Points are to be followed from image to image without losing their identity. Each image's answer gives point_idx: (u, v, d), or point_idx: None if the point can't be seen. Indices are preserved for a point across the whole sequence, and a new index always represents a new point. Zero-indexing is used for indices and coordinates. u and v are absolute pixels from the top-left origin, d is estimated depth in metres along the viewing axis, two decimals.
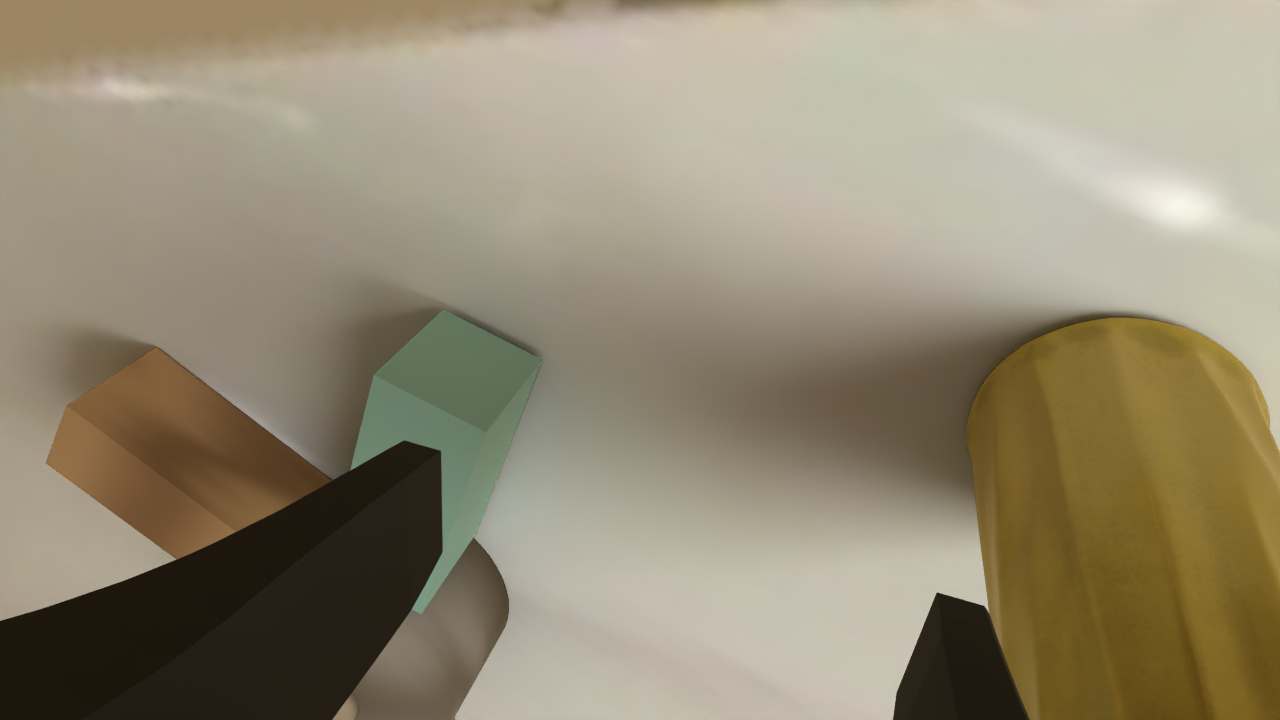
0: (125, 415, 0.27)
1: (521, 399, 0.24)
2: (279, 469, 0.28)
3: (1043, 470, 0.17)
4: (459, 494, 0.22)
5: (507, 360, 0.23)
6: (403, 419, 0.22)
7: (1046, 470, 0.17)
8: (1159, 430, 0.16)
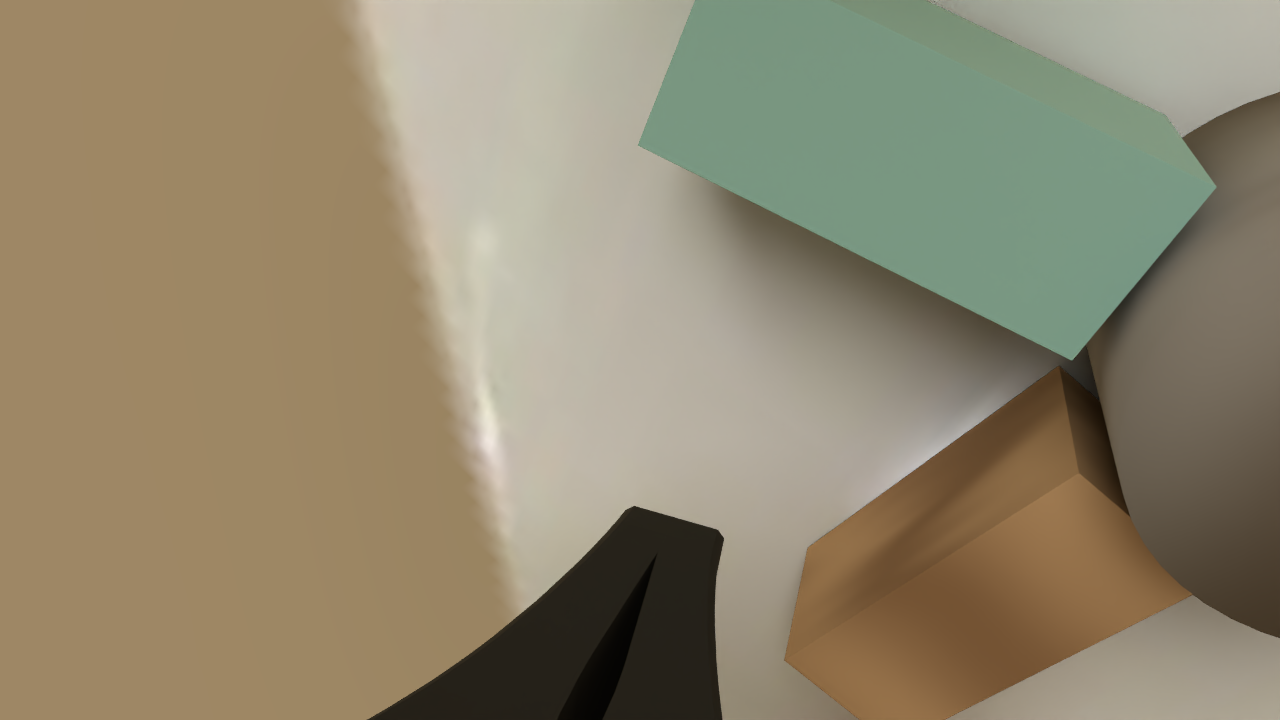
0: (829, 602, 0.19)
1: None
2: (989, 440, 0.18)
3: None
4: (865, 28, 0.12)
5: None
6: (713, 110, 0.13)
7: None
8: None
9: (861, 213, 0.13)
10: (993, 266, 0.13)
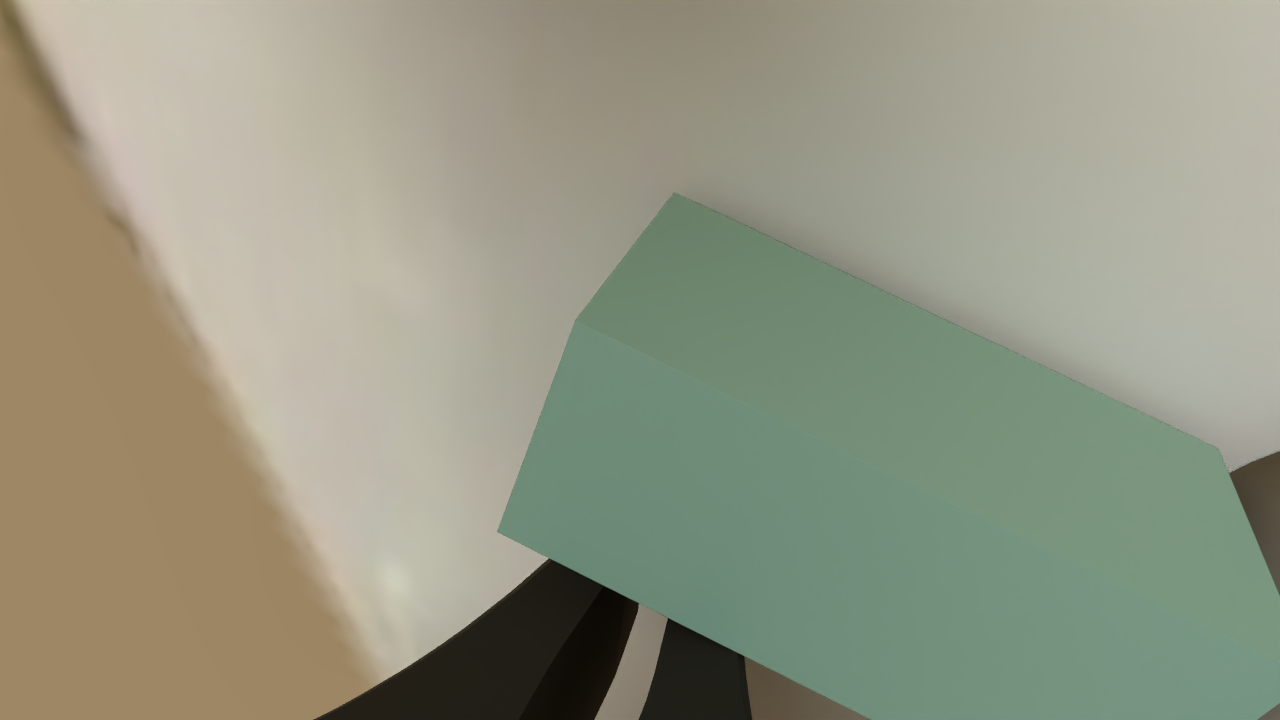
0: None
1: (725, 248, 0.10)
2: None
3: None
4: (792, 436, 0.08)
5: None
6: (591, 506, 0.09)
7: None
8: None
9: (801, 641, 0.09)
10: None
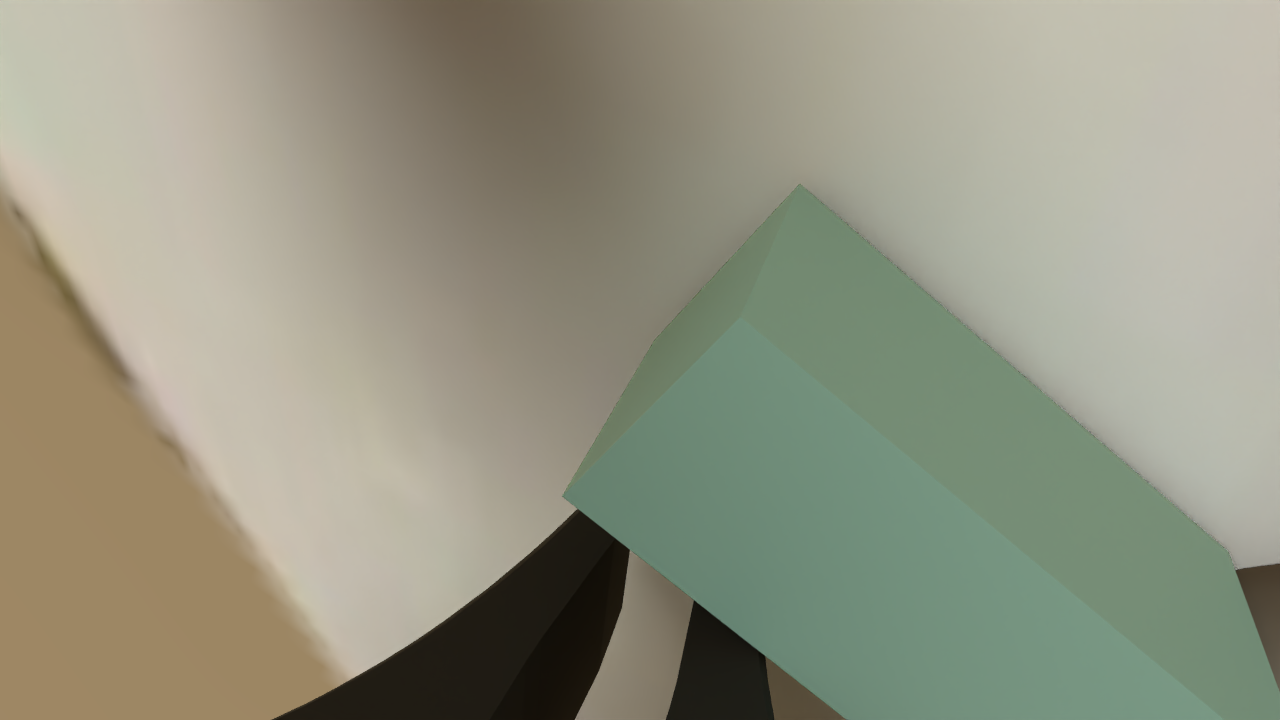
0: None
1: (849, 258, 0.10)
2: None
3: None
4: (923, 482, 0.08)
5: (749, 248, 0.11)
6: (677, 495, 0.09)
7: None
8: None
9: (844, 666, 0.10)
10: None
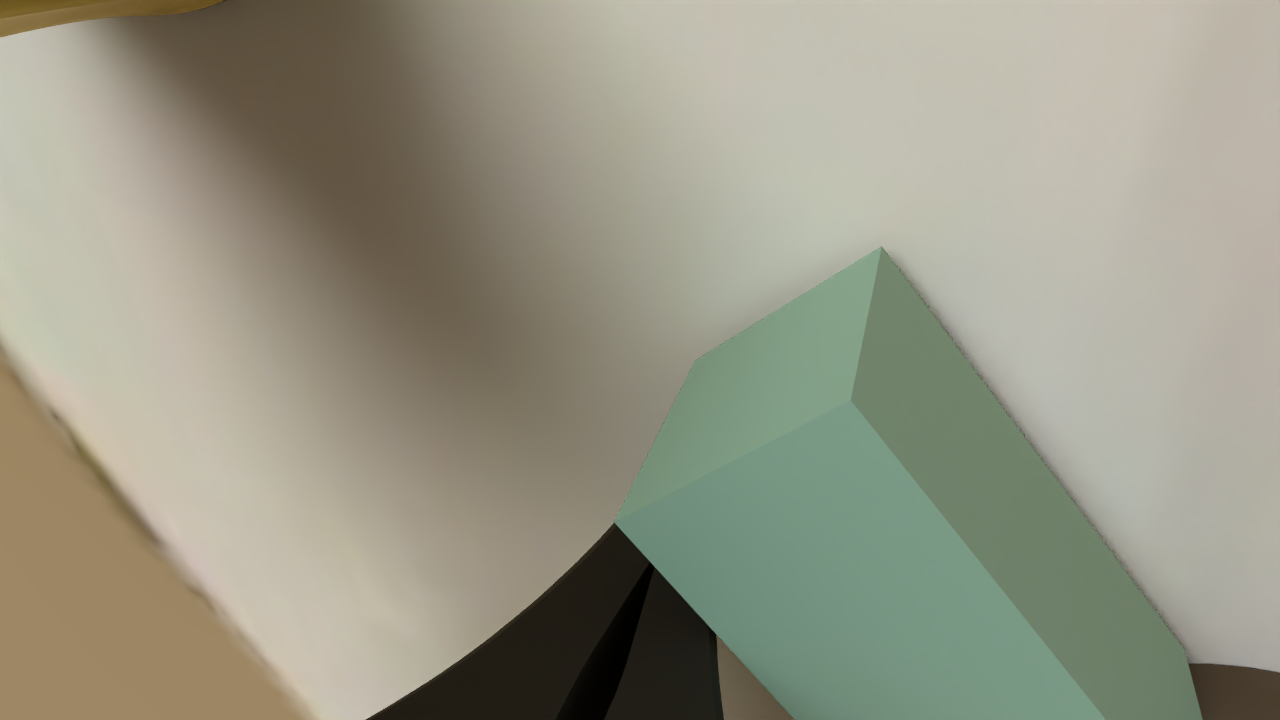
0: None
1: (920, 332, 0.10)
2: None
3: None
4: (979, 579, 0.09)
5: (824, 301, 0.11)
6: (733, 544, 0.09)
7: None
8: None
9: None
10: None
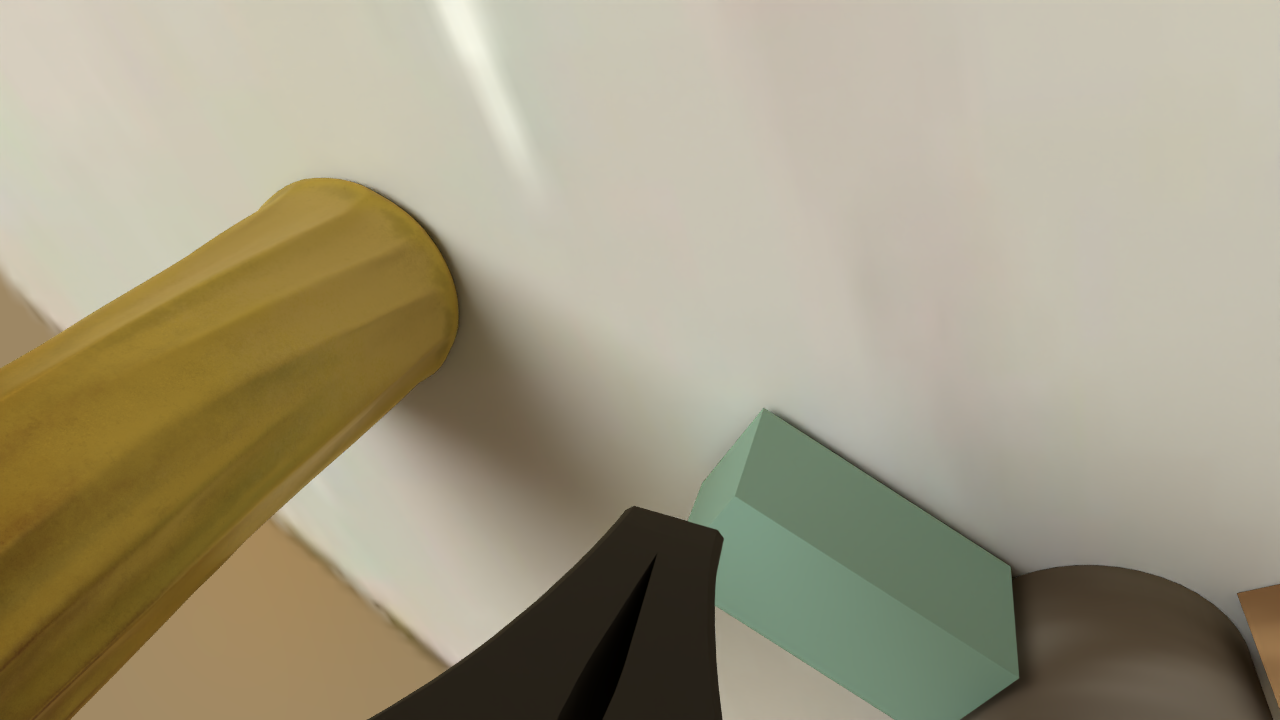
0: None
1: (789, 446, 0.21)
2: None
3: None
4: (821, 556, 0.19)
5: (742, 443, 0.22)
6: (719, 570, 0.20)
7: None
8: None
9: (806, 641, 0.20)
10: (885, 685, 0.20)
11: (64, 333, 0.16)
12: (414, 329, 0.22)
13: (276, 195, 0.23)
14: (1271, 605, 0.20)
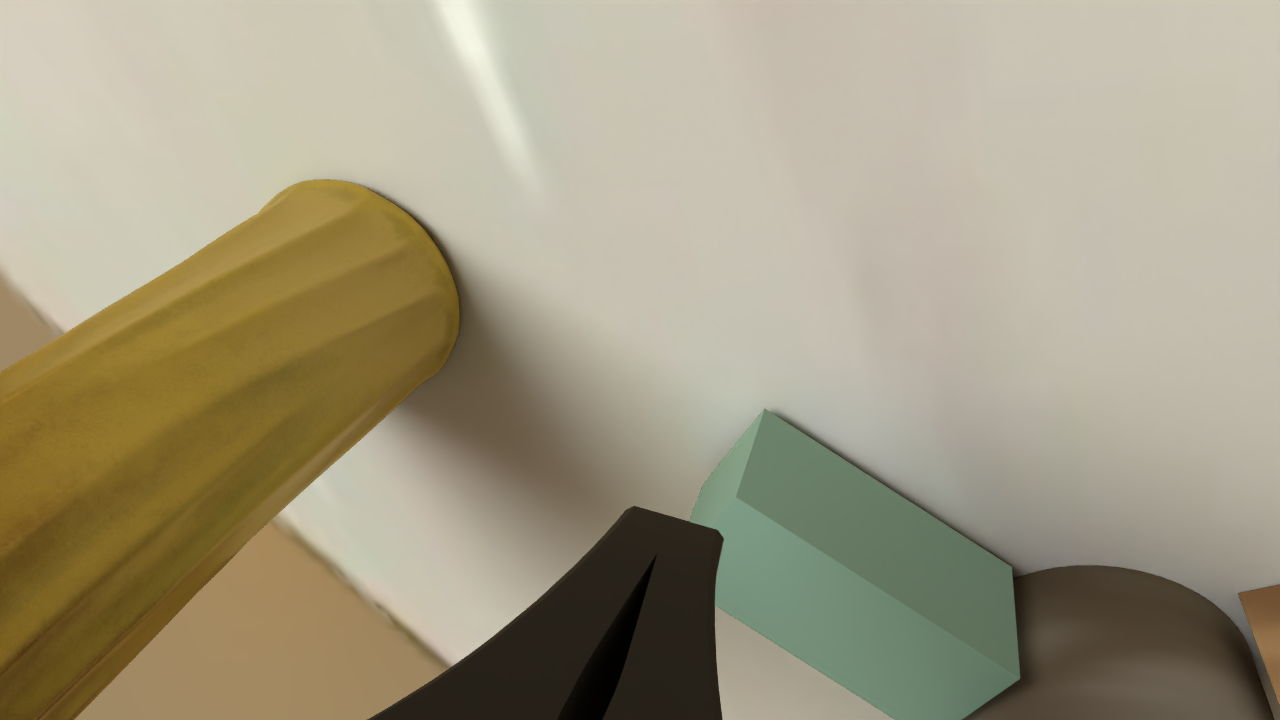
0: None
1: (790, 446, 0.21)
2: None
3: None
4: (822, 557, 0.19)
5: (743, 444, 0.22)
6: (720, 571, 0.20)
7: None
8: None
9: (808, 642, 0.20)
10: (886, 686, 0.20)
11: (66, 335, 0.16)
12: (415, 330, 0.22)
13: (277, 197, 0.23)
14: (1272, 606, 0.20)
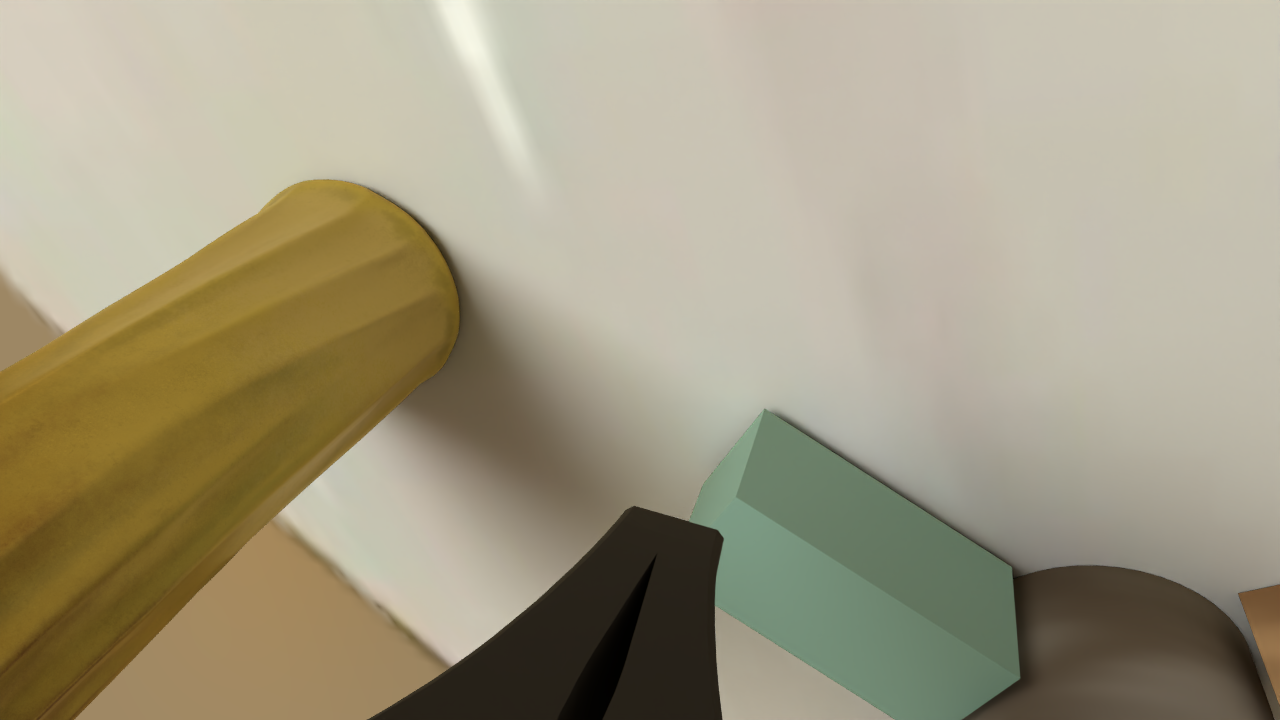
0: None
1: (790, 446, 0.21)
2: None
3: None
4: (822, 557, 0.19)
5: (743, 444, 0.22)
6: (720, 571, 0.20)
7: None
8: None
9: (808, 642, 0.20)
10: (886, 686, 0.20)
11: (66, 335, 0.16)
12: (415, 330, 0.22)
13: (277, 197, 0.23)
14: (1272, 606, 0.20)
